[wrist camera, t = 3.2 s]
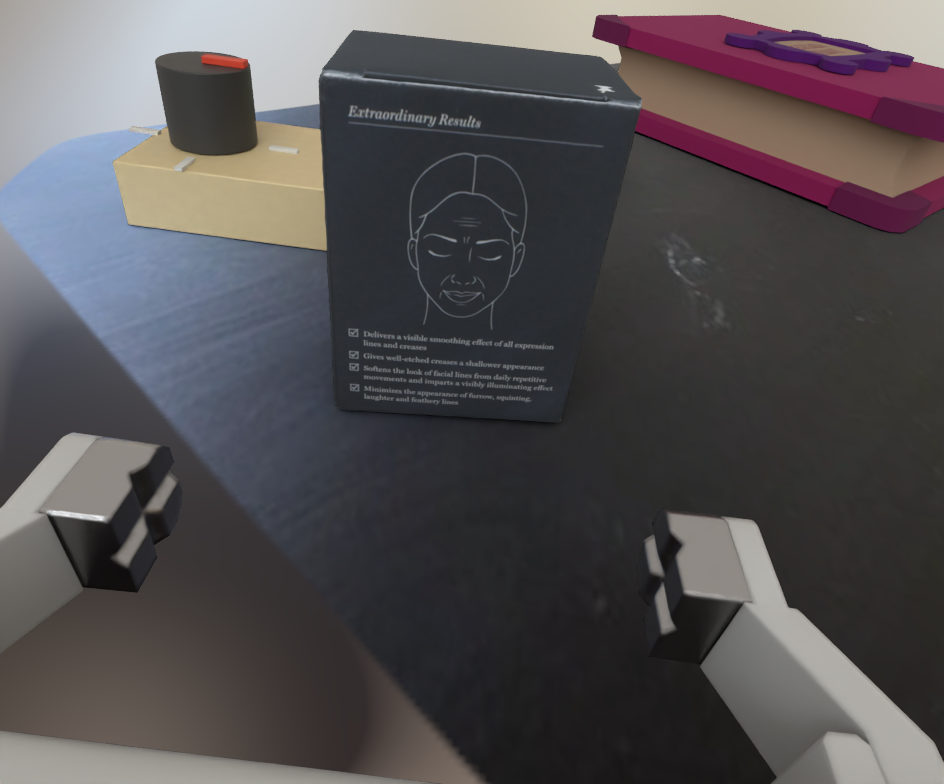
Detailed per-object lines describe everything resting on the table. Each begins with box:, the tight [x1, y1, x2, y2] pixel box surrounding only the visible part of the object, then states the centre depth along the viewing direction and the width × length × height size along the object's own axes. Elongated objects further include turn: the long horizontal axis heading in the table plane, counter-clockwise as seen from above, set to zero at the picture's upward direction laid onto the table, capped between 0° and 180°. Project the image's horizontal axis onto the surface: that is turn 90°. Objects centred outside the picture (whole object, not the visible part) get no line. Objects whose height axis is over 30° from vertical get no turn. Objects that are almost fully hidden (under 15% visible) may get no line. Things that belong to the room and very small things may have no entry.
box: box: [319, 30, 642, 423], centre depth 20 cm, size 8×6×11 cm
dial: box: [155, 52, 258, 155], centre depth 29 cm, size 4×4×4 cm
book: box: [592, 15, 944, 233], centre depth 50 cm, size 21×28×8 cm
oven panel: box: [113, 121, 327, 251], centre depth 31 cm, size 11×8×3 cm
